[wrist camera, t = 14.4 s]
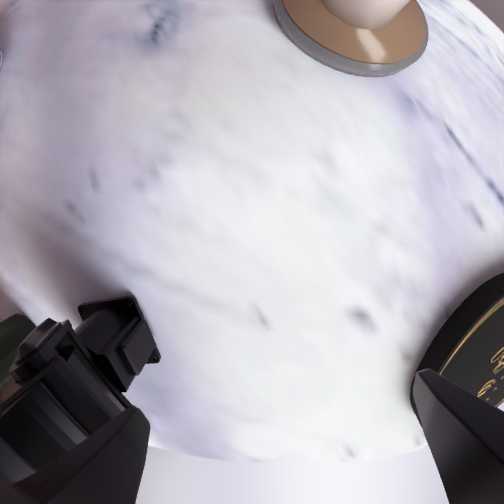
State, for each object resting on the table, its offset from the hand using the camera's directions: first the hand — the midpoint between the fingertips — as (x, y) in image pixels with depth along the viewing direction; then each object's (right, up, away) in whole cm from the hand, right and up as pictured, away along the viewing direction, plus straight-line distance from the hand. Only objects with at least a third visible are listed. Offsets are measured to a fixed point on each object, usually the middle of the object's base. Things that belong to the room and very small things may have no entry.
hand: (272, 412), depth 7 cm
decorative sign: (+28, -7, +15) cm, 32 cm away
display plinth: (+7, +22, +6) cm, 24 cm away
